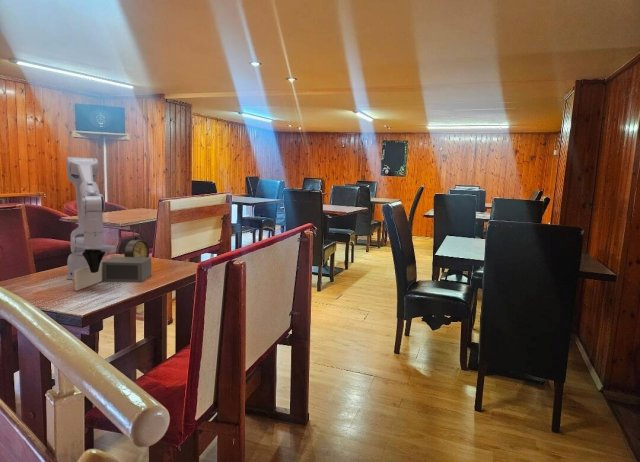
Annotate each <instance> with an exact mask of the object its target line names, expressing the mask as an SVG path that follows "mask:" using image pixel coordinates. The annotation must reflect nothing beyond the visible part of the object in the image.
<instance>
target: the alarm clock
mask: <svg viewBox="0 0 640 462" xmlns="http://www.w3.org/2000/svg"><path fill="white" fill-rule="evenodd" d="M135 232H137V234H136V235H135ZM132 234H133V237H134V239H132V240H130V241H129V242H127V244H126V245H125V247H124V253H123V255H124V256H123V257H145V258H150V247H149V245H148V243H147V241H146V240H144V239H138V236H139V230H138V229H134V230H133V233H132Z"/></svg>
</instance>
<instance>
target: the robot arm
mask: <svg viewBox="0 0 640 462" xmlns="http://www.w3.org/2000/svg"><path fill="white" fill-rule="evenodd" d="M65 162H66V163H65V164H66V166H65V167H66V176H67V181H68V182H69V183H72V184H73V185H74V188H75V194H76V196H75V198H76V209H77V210H76V211H77V222H78V223H77V224H78V227H76V228H75V229H73V230H72V231H71V233H70V243H69V244H70V252H71V253H70V254H69V255H68V257H67V261H66V265H67V277H66V279H67V280H72V279H73V278H74V271H75V270H78V269H81V268H85V267H88V266H89V268H90V271H91V273H96V272H98V270H99V266H100V263H102V261H103V258H104V256H105V254H106V253H111V254H112V253H116V252H117V246H116V245H111V244H110V245H109V244H105V243H104V219H103V217H104V215H103V213H104V212H105V208H106V205H105V204H106V203H105V199H104V196H103V194H101V193H100V188H99V186H98V183H97V182H96V181H97V179H98V174H99V160H98V159H97V158H96V157H93V158H91V157H75V156H73V157H72V156H68V157H67V158H66V160H65Z"/></svg>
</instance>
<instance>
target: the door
mask: <svg viewBox="0 0 640 462" xmlns="http://www.w3.org/2000/svg"><path fill="white" fill-rule="evenodd" d="M71 280H72V282H74V291H79V290H82V289H85V288H88V287H90V286H93V285H96V284H99V283H100V282H104V281H103V265H102V262H101V263H100V266H99V270H98V272H96V273H91V271H90V268H89V266H88V267H85V268H81V269H78V270H75V271H74V278H73V279H71Z"/></svg>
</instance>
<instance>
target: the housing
mask: <svg viewBox="0 0 640 462" xmlns="http://www.w3.org/2000/svg"><path fill="white" fill-rule="evenodd" d="M101 263H102V265H103V281H102V282H121V283H122V282H123V283H124V282H126V283H127V282H128V283H143V282H145V280H147V279H148V278H151V276H152V257H149V258H145V257H124V256H111V257H110V258H108V259H105V260H102V261H101Z"/></svg>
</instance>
